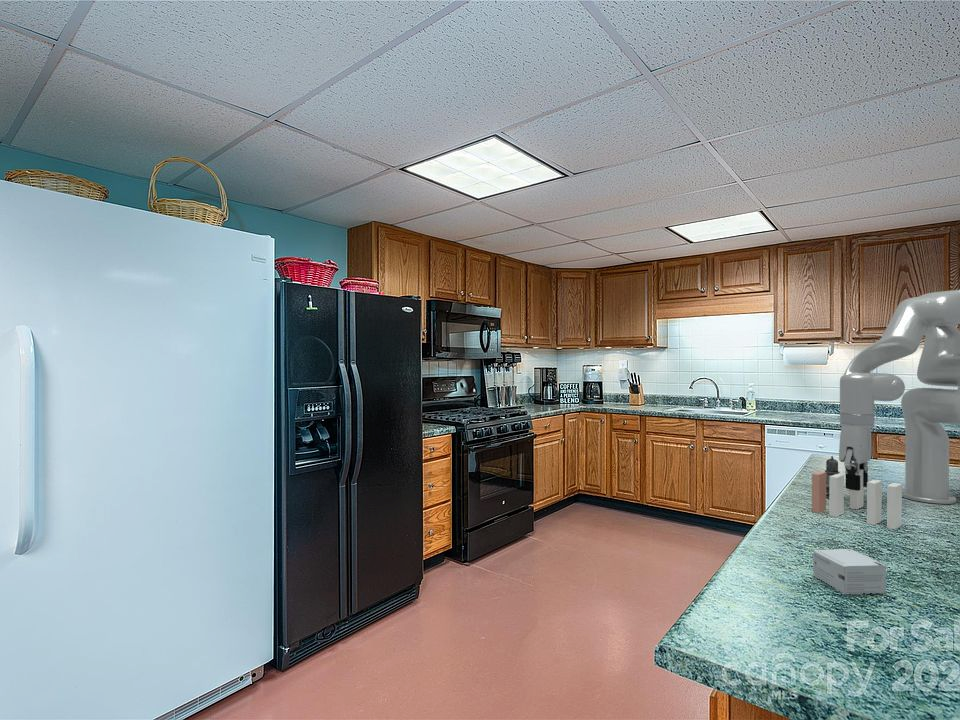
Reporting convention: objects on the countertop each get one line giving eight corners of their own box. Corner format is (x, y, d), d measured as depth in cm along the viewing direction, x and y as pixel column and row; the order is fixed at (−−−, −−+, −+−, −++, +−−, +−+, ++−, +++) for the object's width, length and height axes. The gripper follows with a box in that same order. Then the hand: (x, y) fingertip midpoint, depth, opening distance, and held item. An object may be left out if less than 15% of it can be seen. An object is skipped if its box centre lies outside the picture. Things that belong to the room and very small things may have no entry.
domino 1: (836, 511, 136) (836, 473, 136) (843, 513, 135) (843, 474, 135) (829, 515, 133) (829, 476, 133) (836, 517, 132) (836, 477, 131)
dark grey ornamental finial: (848, 500, 147) (848, 458, 147) (825, 499, 148) (825, 457, 148) (838, 495, 152) (838, 454, 152) (816, 494, 154) (816, 453, 154)
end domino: (819, 508, 139) (819, 471, 139) (826, 509, 138) (826, 472, 138) (811, 511, 136) (811, 473, 136) (818, 513, 135) (818, 474, 135)
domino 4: (893, 523, 126) (893, 482, 126) (901, 525, 125) (901, 483, 125) (886, 527, 123) (887, 485, 123) (895, 529, 122) (895, 487, 122)
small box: (811, 576, 96) (811, 549, 96) (852, 575, 97) (852, 548, 97) (843, 596, 88) (844, 566, 88) (887, 594, 89) (887, 564, 89)
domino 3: (873, 519, 129) (873, 479, 129) (881, 521, 128) (881, 480, 128) (866, 523, 126) (867, 482, 126) (874, 525, 125) (875, 483, 125)
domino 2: (856, 505, 142) (856, 468, 142) (863, 506, 141) (863, 469, 140) (849, 508, 139) (849, 471, 139) (856, 509, 137) (856, 472, 137)
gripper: (851, 416, 148) (851, 480, 148) (828, 421, 137) (828, 490, 137) (884, 419, 142) (883, 485, 142) (862, 424, 131) (862, 496, 131)
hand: (856, 487), depth 140 cm, fingers closed on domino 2, 4 cm apart
